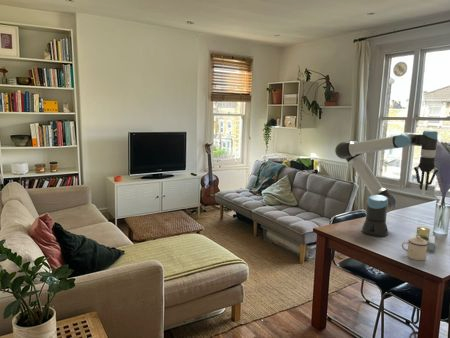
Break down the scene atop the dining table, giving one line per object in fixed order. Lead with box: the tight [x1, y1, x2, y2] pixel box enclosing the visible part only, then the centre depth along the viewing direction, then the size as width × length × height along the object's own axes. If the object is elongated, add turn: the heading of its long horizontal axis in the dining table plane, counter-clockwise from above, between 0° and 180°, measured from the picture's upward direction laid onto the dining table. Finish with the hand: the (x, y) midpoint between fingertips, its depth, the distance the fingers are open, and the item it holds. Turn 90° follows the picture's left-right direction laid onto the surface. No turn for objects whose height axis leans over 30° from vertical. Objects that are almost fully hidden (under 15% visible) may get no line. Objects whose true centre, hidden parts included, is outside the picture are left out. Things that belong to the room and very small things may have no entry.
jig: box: [409, 232, 436, 252], centre depth 194 cm, size 12×12×4 cm
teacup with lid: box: [401, 236, 428, 261], centre depth 178 cm, size 12×9×12 cm
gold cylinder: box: [416, 226, 431, 240], centre depth 194 cm, size 6×6×10 cm
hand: (422, 194), depth 203 cm, fingers closed
